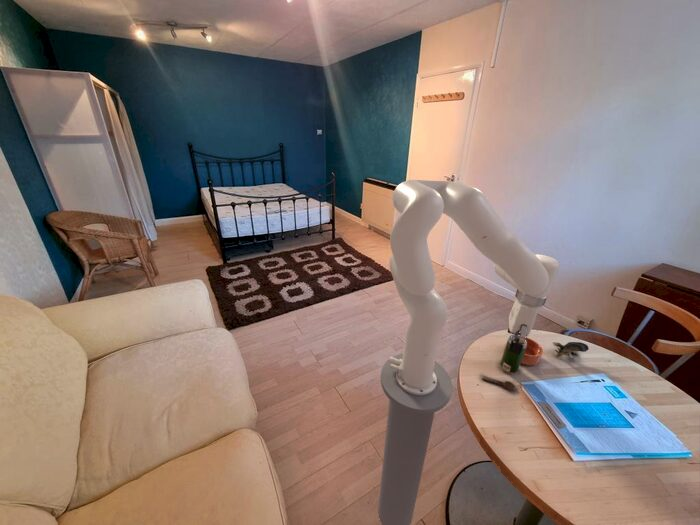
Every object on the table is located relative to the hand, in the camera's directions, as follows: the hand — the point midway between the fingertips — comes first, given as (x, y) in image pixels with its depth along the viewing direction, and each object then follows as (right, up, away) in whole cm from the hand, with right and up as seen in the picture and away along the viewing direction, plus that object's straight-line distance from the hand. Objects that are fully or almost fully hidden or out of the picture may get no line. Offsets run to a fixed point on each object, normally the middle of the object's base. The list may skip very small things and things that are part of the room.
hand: (513, 342), depth 89 cm
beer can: (+1, -10, +5) cm, 11 cm away
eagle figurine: (+24, -8, +10) cm, 27 cm away
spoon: (-5, -12, -1) cm, 14 cm away
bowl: (+9, -7, +10) cm, 15 cm away
